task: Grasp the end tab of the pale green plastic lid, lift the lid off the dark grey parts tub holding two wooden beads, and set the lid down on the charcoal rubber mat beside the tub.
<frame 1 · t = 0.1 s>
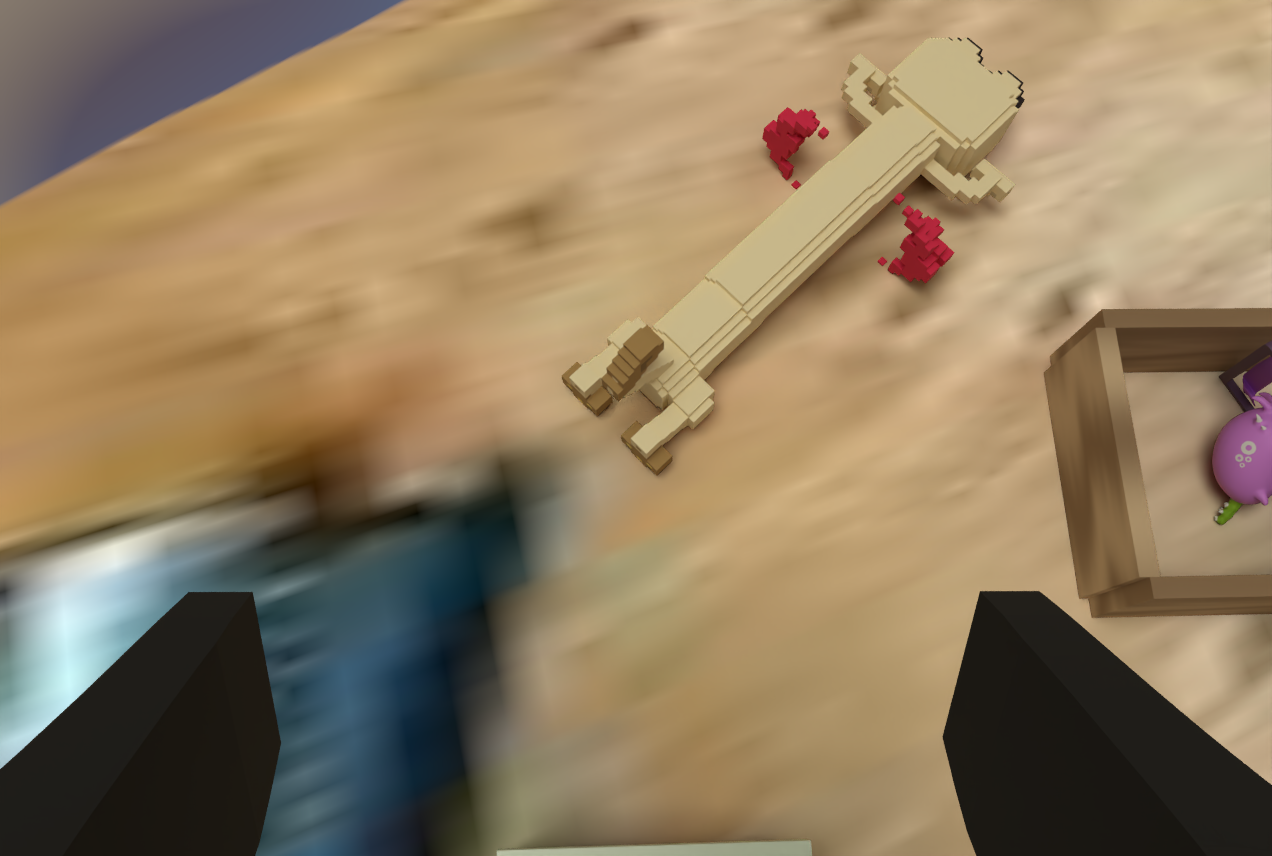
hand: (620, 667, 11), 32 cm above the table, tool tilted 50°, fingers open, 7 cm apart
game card: (1242, 484, 46), on the table
cat figure: (803, 257, 48), on the table
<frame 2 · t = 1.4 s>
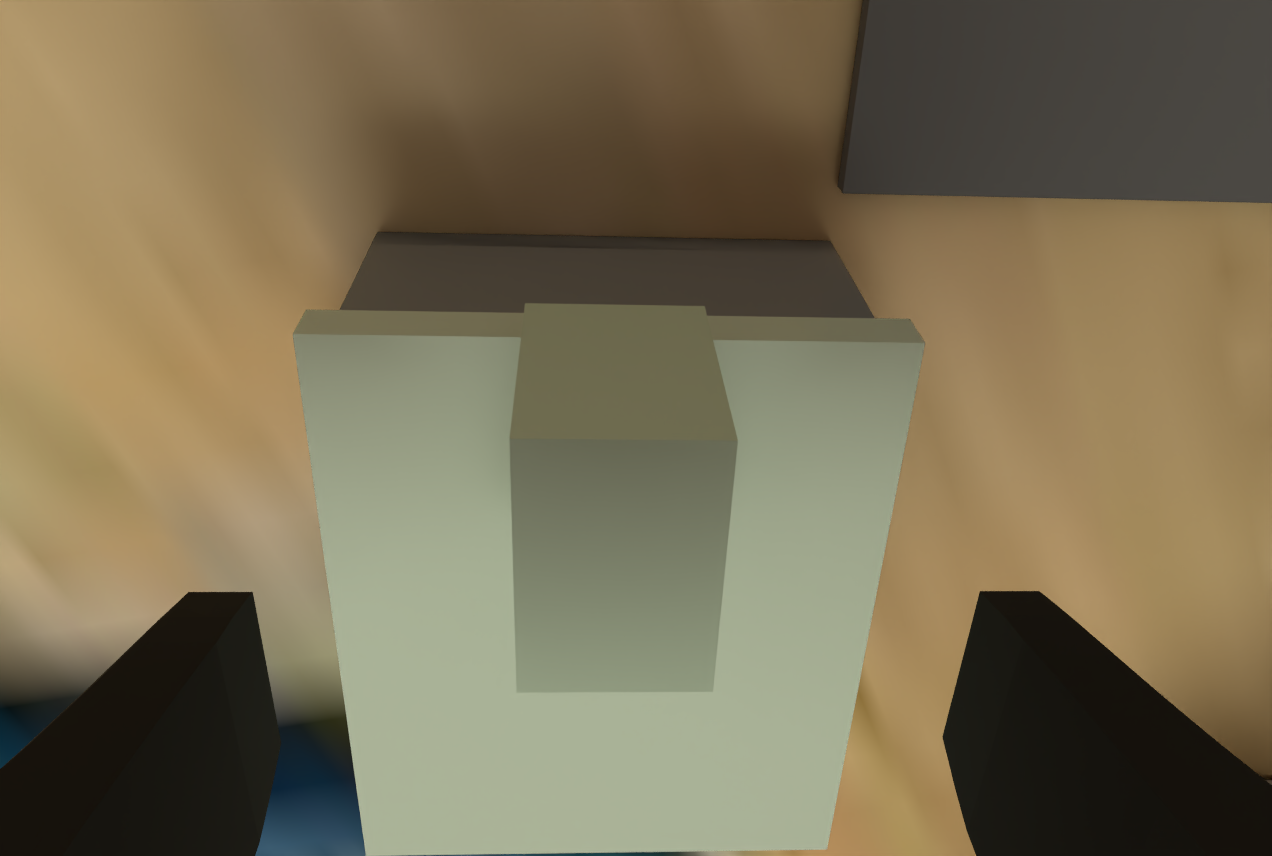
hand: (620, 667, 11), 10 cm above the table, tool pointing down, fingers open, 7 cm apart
tub: (600, 474, 21), on the table
lid: (604, 603, 18), point 4 cm above the table, touching tub
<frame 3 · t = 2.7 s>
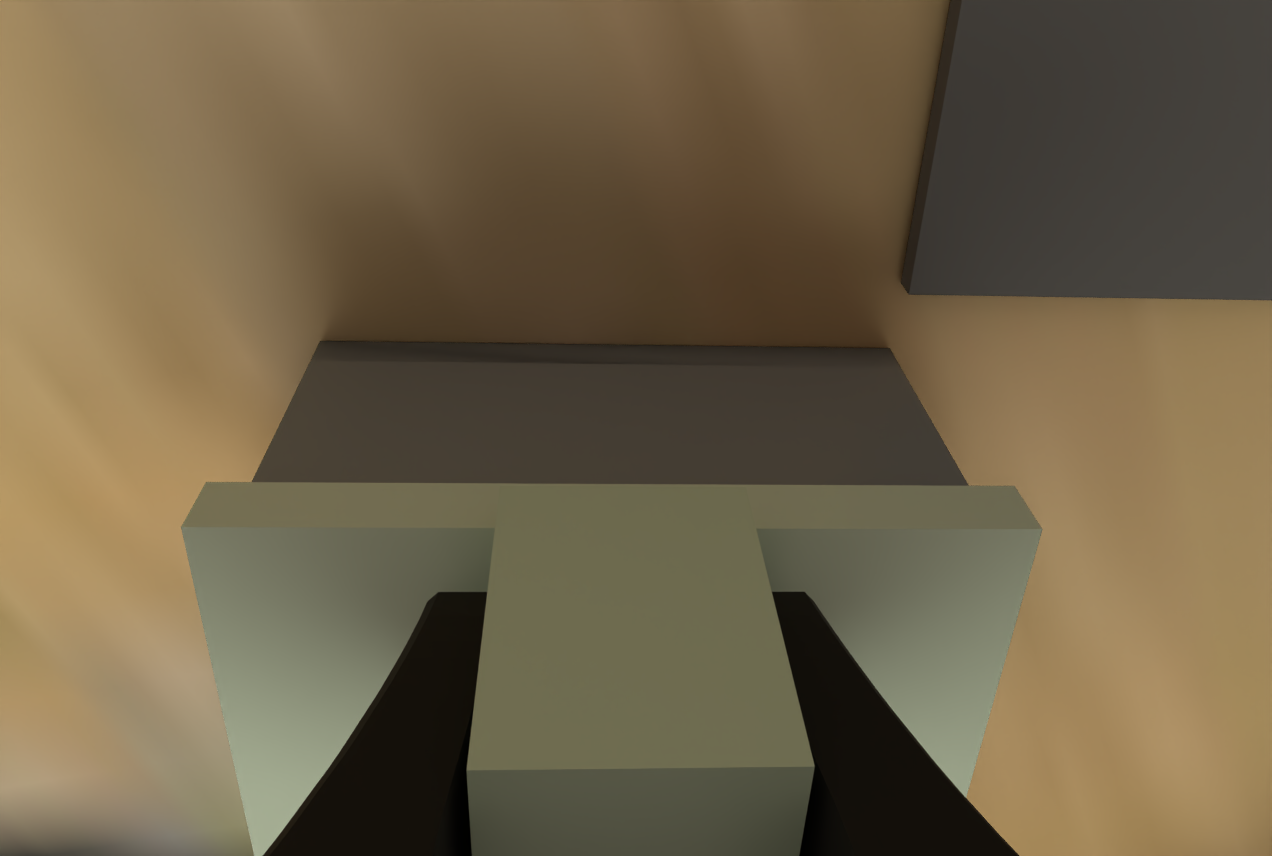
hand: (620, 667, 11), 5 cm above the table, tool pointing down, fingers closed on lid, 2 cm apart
tub: (602, 618, 17), on the table
lid: (607, 819, 14), point 4 cm above the table, touching gripper, tub
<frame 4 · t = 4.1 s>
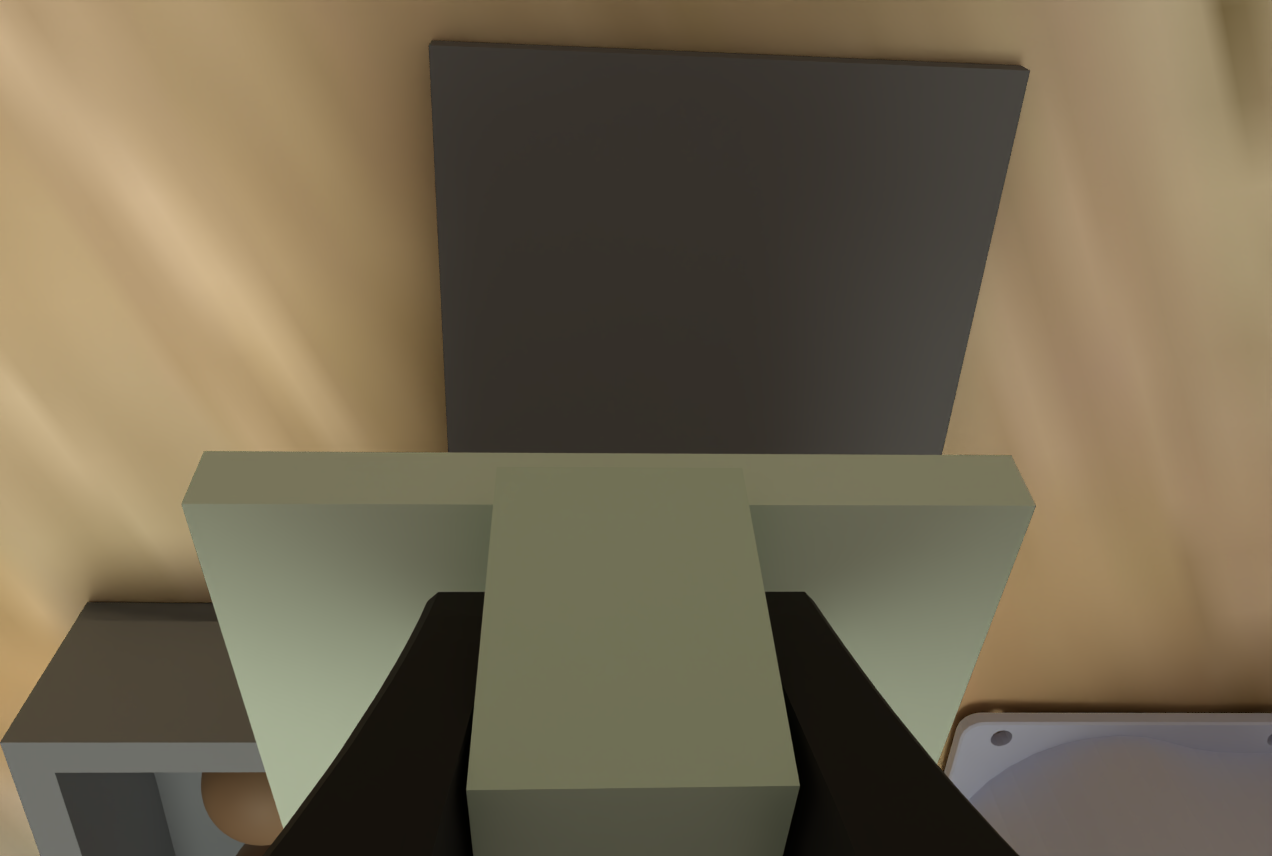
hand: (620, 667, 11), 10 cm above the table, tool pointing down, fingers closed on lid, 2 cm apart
tub: (299, 763, 26), on the table
bead b: (291, 709, 25), resting on tub
lid: (605, 745, 15), point 8 cm above the table, tilted 9°, touching gripper
bead a: (307, 813, 27), resting on tub
mat: (705, 347, 20), on the table
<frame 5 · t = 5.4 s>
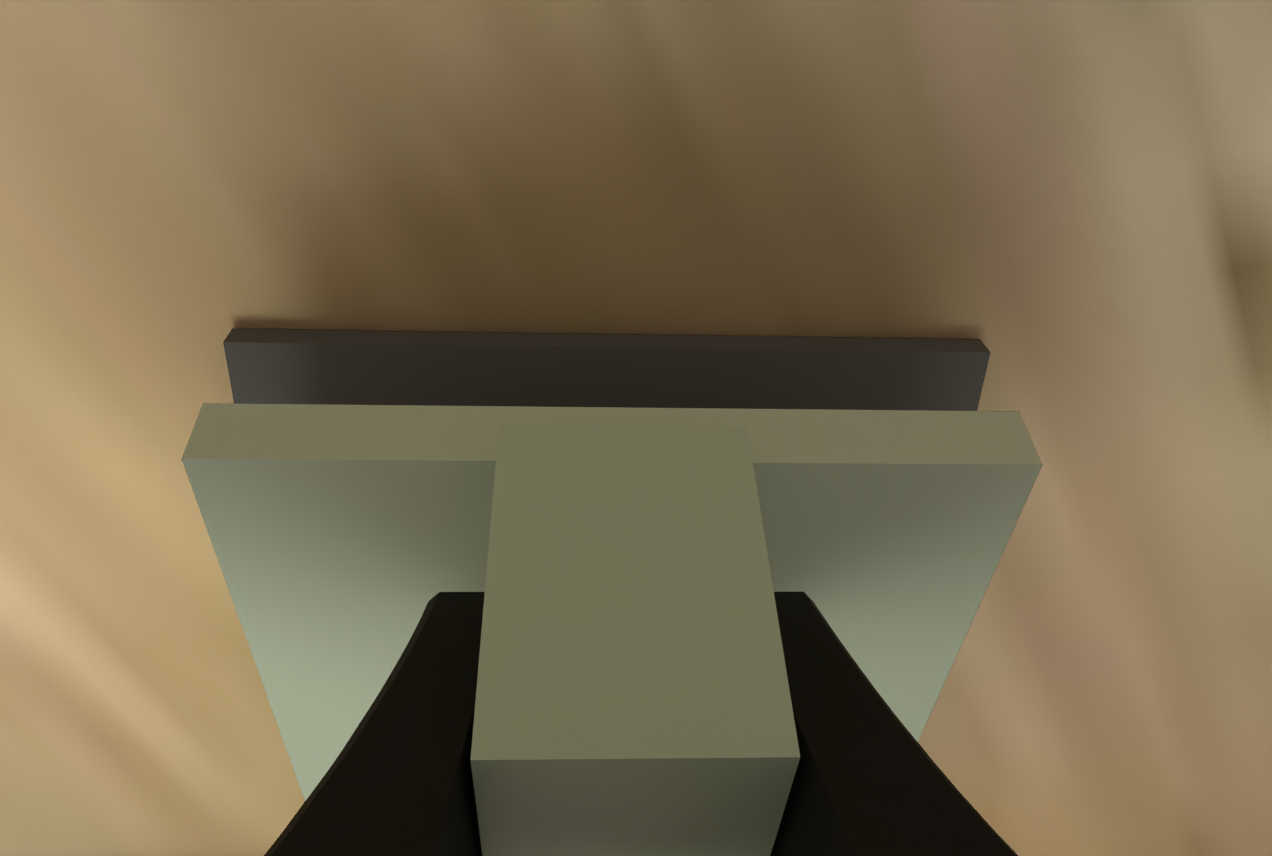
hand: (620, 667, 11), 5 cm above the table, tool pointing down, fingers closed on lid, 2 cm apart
lid: (606, 685, 15), point 2 cm above the table, tilted 14°, touching gripper, mat
mat: (605, 646, 17), on the table
when the fingers open (3 cm above the table, at t = 6.0 s): lid stays where it is, resting on mat.
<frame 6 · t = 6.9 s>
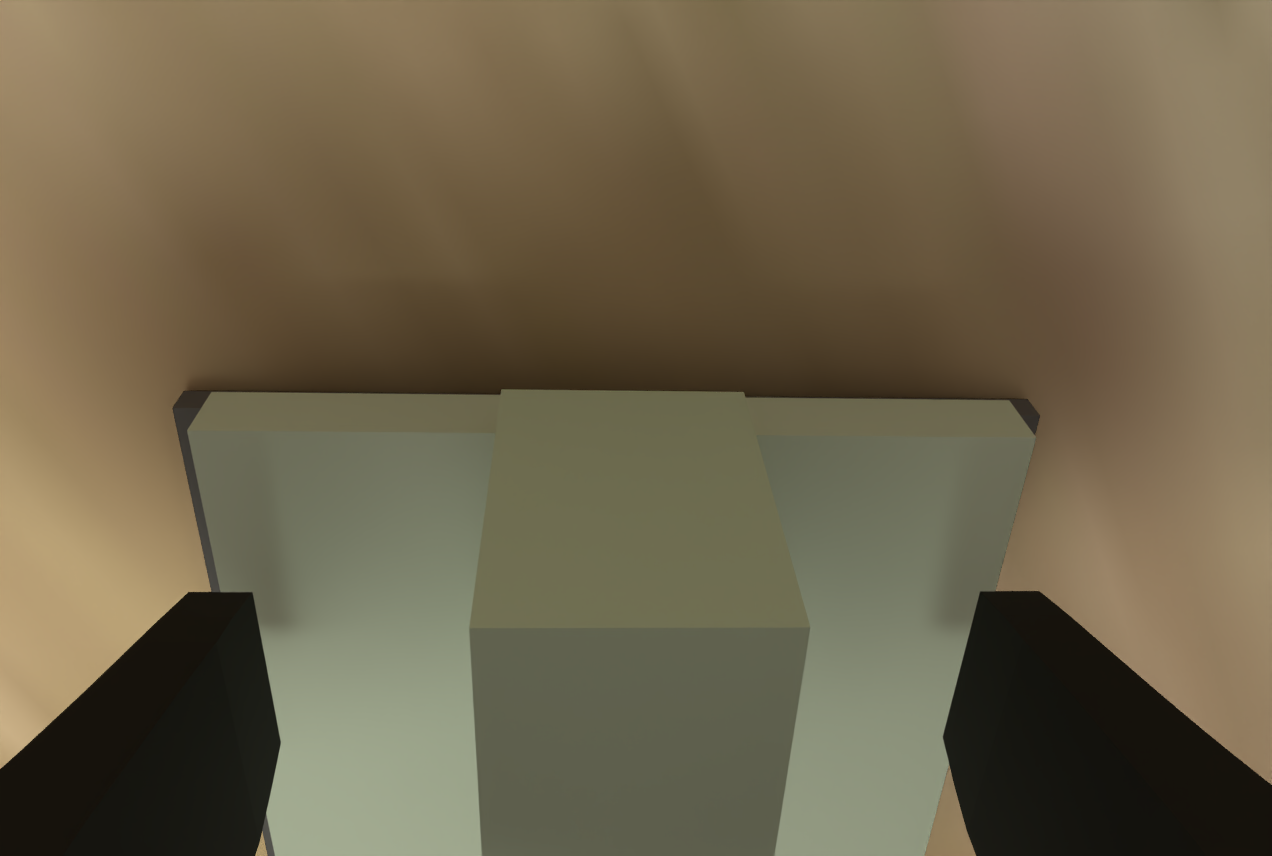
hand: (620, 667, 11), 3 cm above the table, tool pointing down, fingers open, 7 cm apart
lid: (607, 745, 14), point 1 cm above the table, touching mat
mat: (605, 728, 15), on the table
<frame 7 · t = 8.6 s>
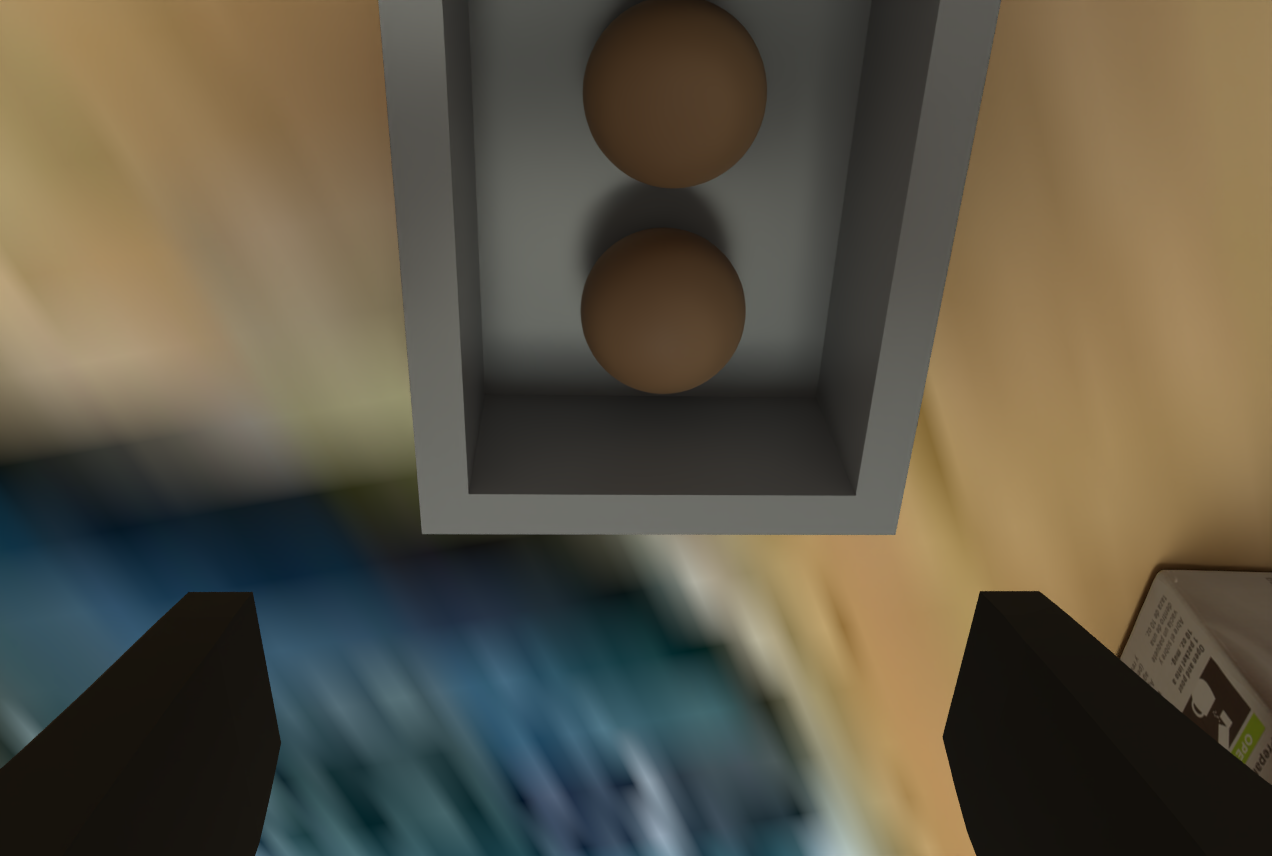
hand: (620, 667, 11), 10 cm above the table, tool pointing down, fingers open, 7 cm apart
tub: (660, 171, 19), on the table
bead b: (665, 66, 18), resting on tub
bead a: (655, 267, 20), resting on tub
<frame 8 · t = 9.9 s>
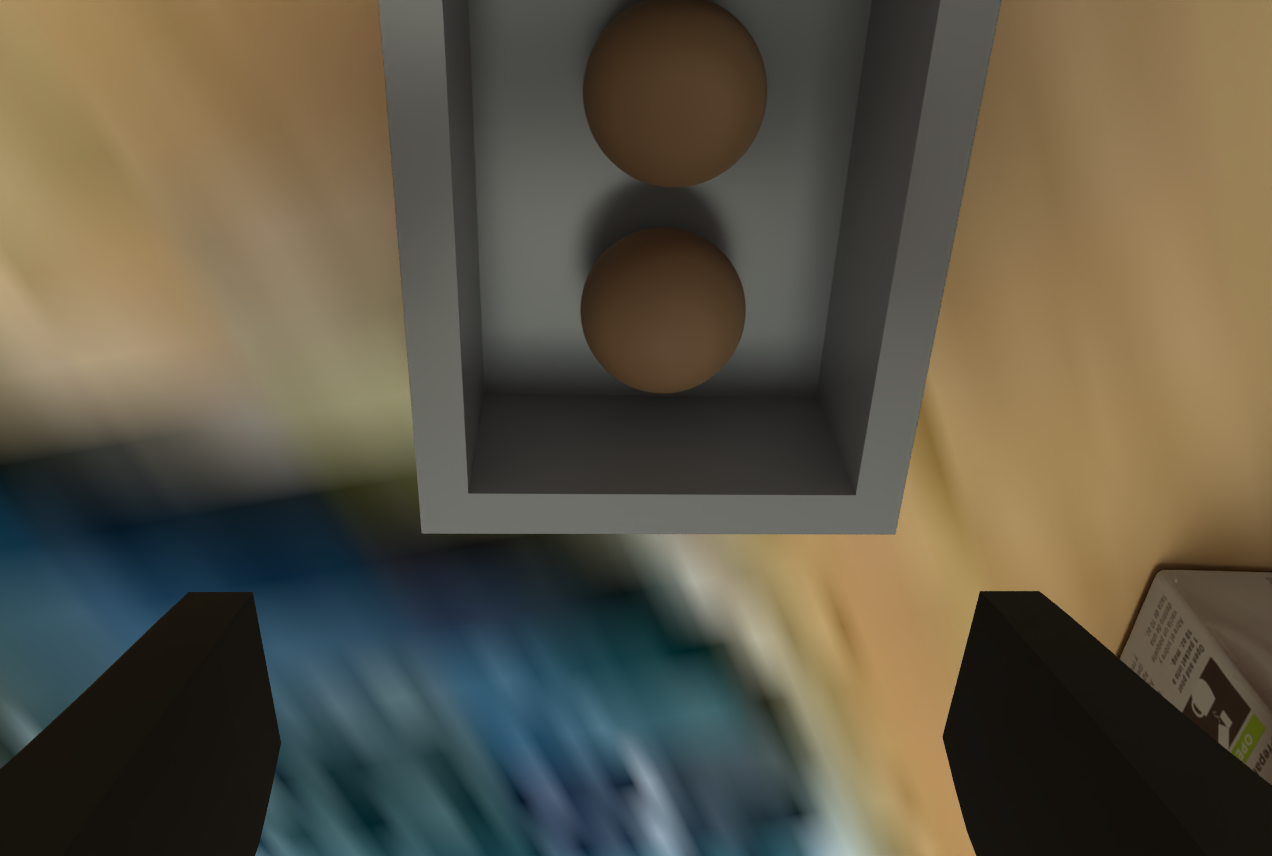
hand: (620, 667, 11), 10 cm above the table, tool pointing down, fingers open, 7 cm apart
tub: (660, 171, 19), on the table
bead b: (665, 65, 18), resting on tub
bead a: (655, 266, 20), resting on tub
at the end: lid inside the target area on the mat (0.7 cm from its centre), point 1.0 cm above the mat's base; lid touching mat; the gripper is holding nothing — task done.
